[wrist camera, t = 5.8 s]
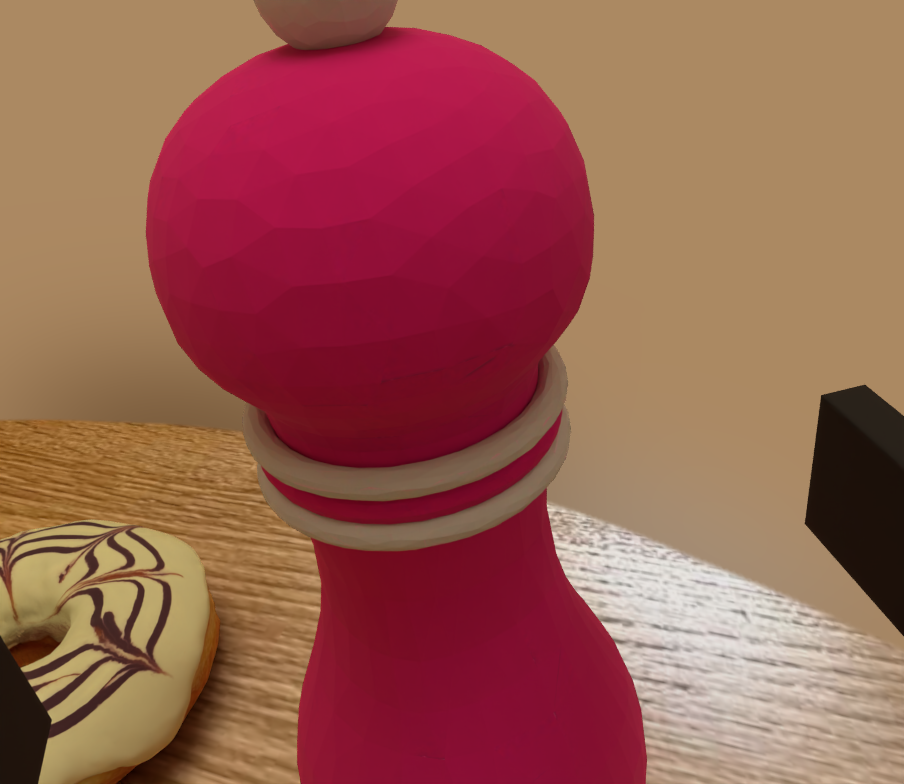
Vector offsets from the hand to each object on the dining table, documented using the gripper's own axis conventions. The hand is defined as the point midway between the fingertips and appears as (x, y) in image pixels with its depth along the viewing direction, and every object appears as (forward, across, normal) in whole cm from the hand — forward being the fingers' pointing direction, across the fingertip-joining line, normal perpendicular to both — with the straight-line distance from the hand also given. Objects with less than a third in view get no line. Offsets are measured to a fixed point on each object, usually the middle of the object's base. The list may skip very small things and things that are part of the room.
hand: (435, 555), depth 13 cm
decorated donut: (+9, -12, -11) cm, 19 cm away
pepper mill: (+1, 0, -11) cm, 11 cm away
